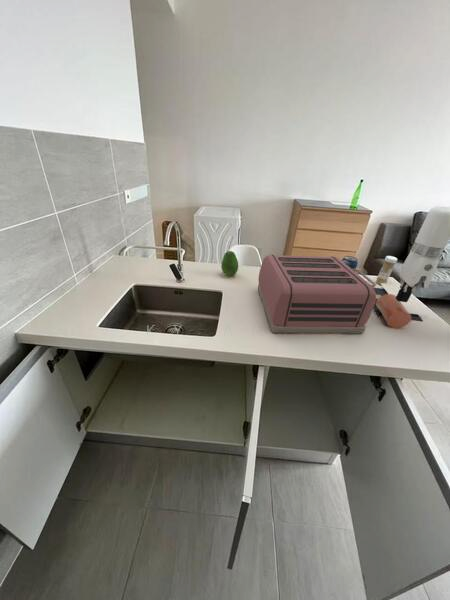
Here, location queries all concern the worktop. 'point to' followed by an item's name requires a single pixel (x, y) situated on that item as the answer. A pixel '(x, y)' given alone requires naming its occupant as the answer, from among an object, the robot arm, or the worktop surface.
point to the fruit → (229, 263)
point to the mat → (383, 292)
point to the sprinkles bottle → (386, 269)
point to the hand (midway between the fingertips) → (401, 300)
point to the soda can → (350, 261)
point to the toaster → (314, 295)
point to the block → (377, 299)
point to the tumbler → (393, 311)
